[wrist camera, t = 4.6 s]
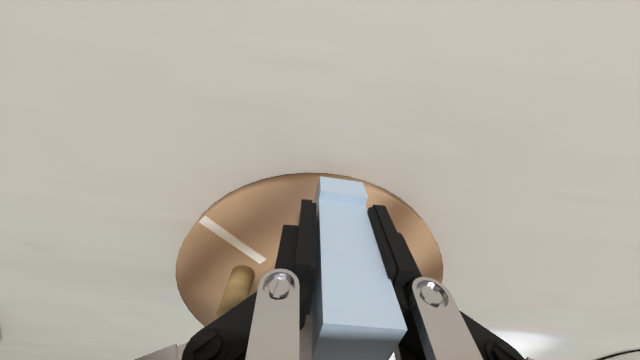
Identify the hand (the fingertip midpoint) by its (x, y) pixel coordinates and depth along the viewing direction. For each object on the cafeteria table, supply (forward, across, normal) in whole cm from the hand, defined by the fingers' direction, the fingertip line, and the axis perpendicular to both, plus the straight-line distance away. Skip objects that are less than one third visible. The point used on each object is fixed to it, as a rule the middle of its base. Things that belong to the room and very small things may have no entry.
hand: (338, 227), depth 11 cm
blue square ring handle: (+2, 0, +5) cm, 6 cm away
